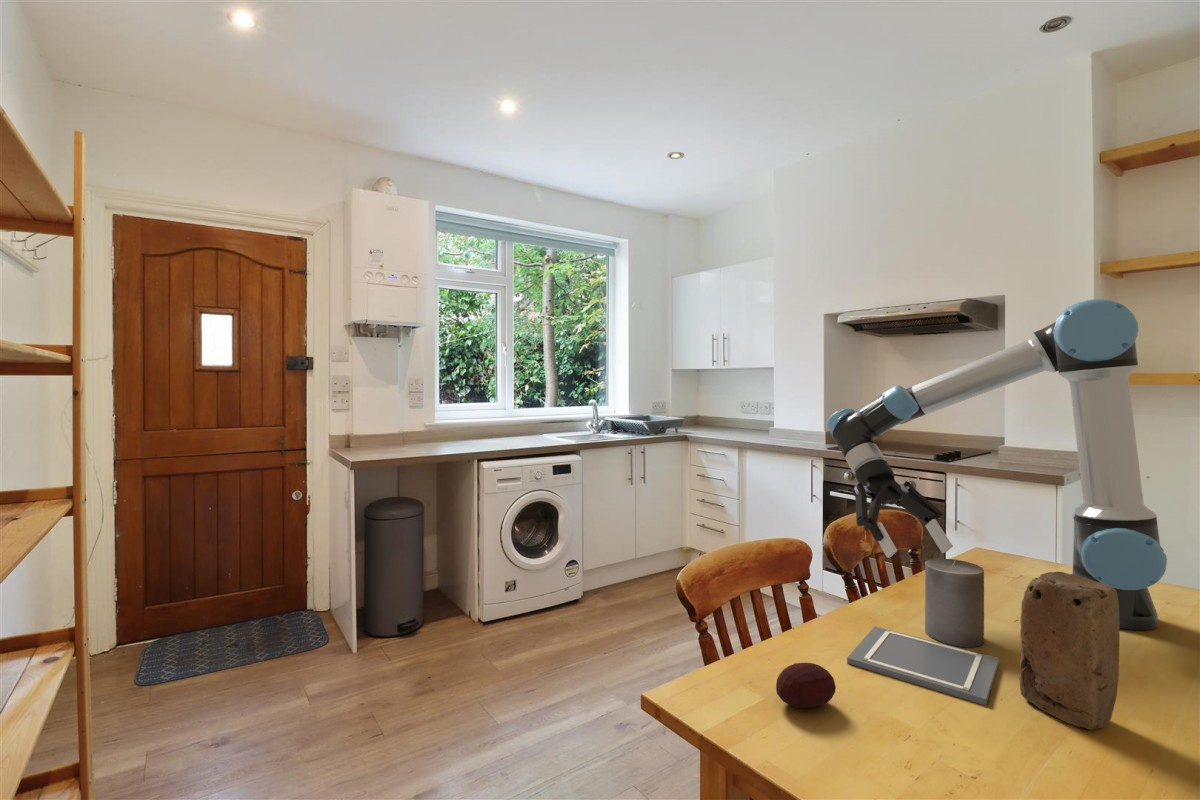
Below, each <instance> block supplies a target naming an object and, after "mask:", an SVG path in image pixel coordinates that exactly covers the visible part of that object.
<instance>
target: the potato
mask: <svg viewBox="0 0 1200 800" xmlns="http://www.w3.org/2000/svg"><path fill="white" fill-rule="evenodd" d="M775 684H776V685H775V691H776V694H777V695H778V697H779V698H780V699H781V701H782V702H783V703H785V704H787V705H789V706H791V707H794V708H801V709H810V708H811V709H812V708H817V707H820V706H823V705H826V704H827V703H829V702H830V701H831V700H832V698H833V697H834V695H835V693H836V687H837V686H836V683H835V679H834V677H833V676H832V674H831V673H830V672H829V671H828V670H827V669H826V668H824V667H822V666H821V665H819V664H816V663H813V662H797V663H795V662H794V663H793V664H791V665H788V666H787V667H786V668H785V667H784V669H782V671H781V672H780V673H779V675H778V676H777V679H776V683H775Z"/></svg>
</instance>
